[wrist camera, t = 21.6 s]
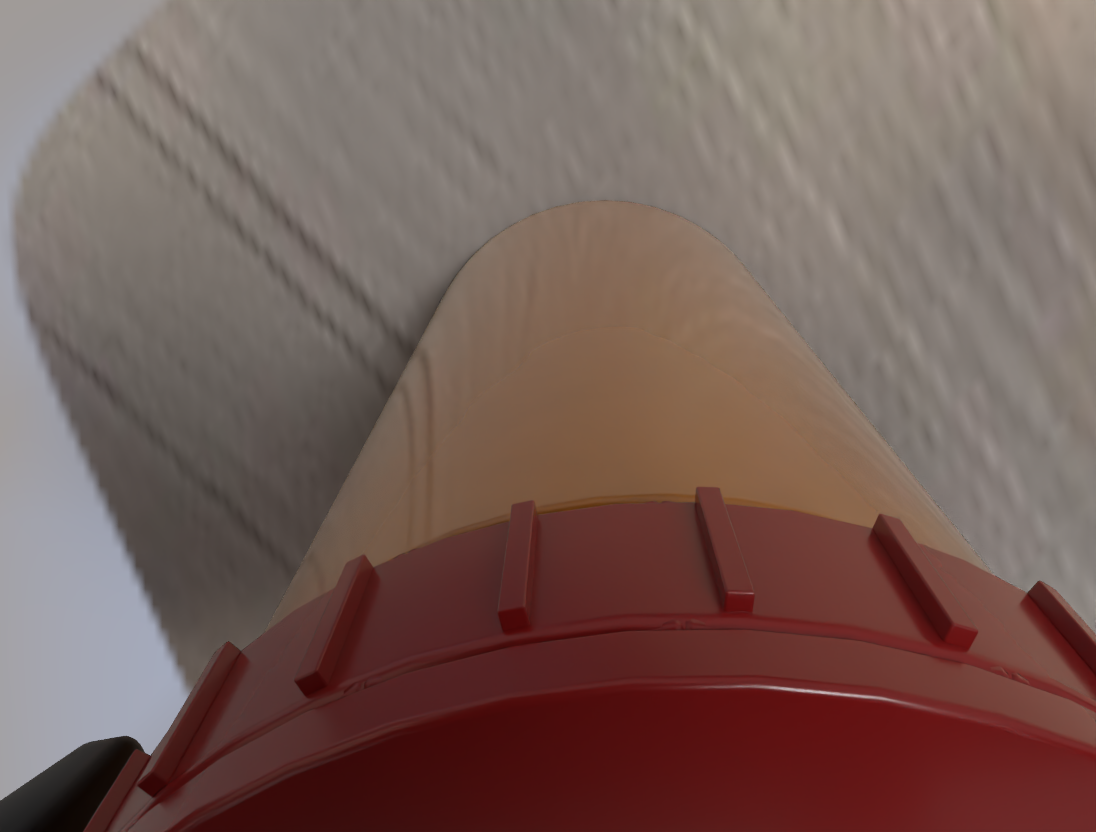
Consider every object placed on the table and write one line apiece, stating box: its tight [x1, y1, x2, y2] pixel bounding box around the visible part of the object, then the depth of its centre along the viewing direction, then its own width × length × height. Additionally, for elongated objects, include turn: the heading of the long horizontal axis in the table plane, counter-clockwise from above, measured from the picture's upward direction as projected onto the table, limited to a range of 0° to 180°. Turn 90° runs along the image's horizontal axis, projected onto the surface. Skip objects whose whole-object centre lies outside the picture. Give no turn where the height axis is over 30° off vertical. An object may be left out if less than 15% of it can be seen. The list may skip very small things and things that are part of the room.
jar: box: [264, 200, 994, 633], centre depth 11 cm, size 6×6×12 cm
